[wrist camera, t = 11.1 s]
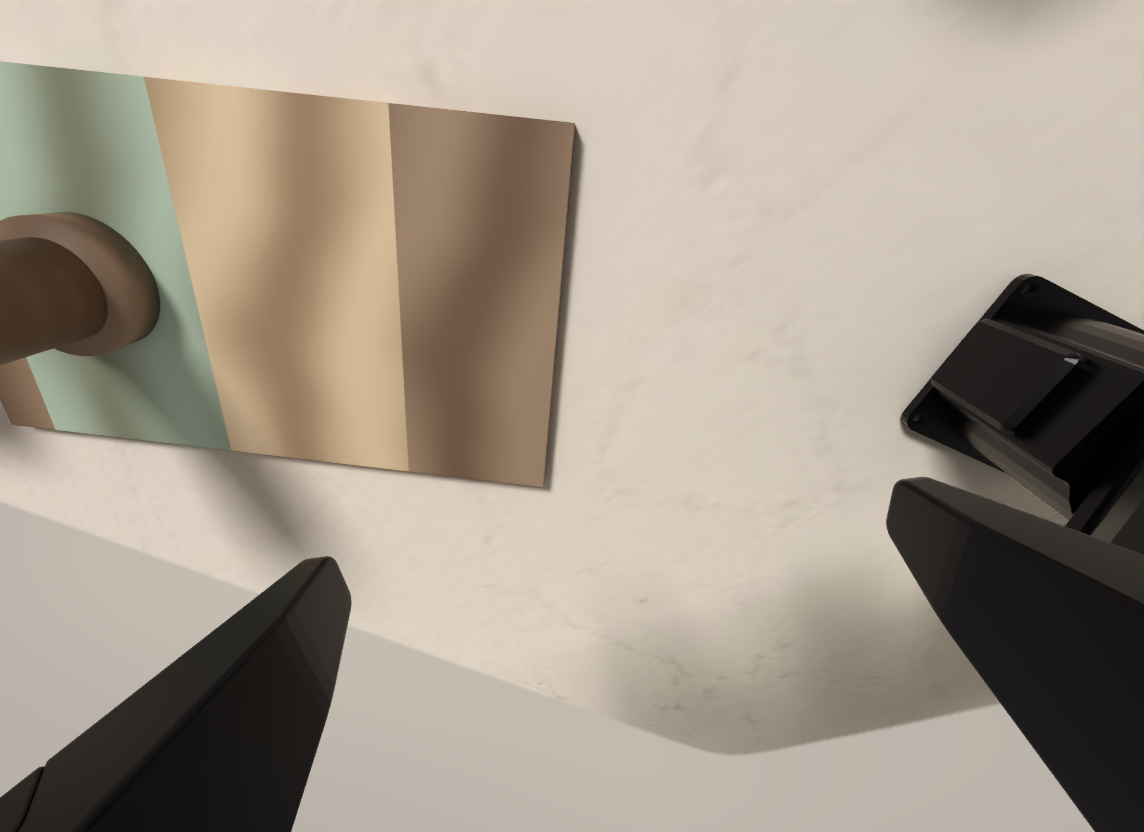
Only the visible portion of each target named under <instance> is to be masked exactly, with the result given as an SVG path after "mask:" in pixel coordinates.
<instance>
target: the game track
mask: <svg viewBox="0 0 1144 832" xmlns="http://www.w3.org/2000/svg"><path fill="white" fill-rule="evenodd" d="M574 134H575V123H569V122H559V121H550V120H541V119H531V118H522V117H513V116H503V115H494V114H485V113H476V112H466V111H457V110H448V109H438V108H429V107H420V106H410V105H401V104H392V103H382V102H373V101H364V100H354V99H345V98H336V97H326V96H317V95H308V94H299V93H289V92H280V91H271V90H261V89H252V88H243V87H233V86H224V85H215V84H205V83H196V82H187V81H177V80H168V79H159V78H149V77H140V76H131V75H122V74H112V73H103V72H94V71H84V70H75V69H66V68H56V67H47V66H38V65H28V64H19V63H10V62H0V220H3V219H5V218H7V217H12V216H18V215H31V214H45V213H58V212H72V213H78V214H83V215H86V216H89V217H92V218H94V219H97V220H99V221H101V222H103V223H105V224H106V225H108V226H109V227H111V228H113V229H114V230H115V231H117V232H118V233H119V234H121V235H122V236H123V237H124V238H125V239H126V240H128V241H129V242H130V243H131V244H132V246H133V247H134V248H135V249H136V250H137V251H138V252H139V254H140V255H141V256H142V257H143V259H144V260H145V262H146V264H147V265H148V267H149V269H150V270H151V272H152V274H153V276H154V279H155V281H156V284H157V288H158V291H159V297H160V314H159V318H158V322H157V324H156V326H155V328H154V329H153V330H152V332H151V333H150V334H149V335H148V336H146V337H145V338H143V339H142V340H140V341H137V342H134V343H132V344H129V345H126V346H123V347H121V348H118V349H115V350H112V351H109V352H107V353H104V354H101V355H96V356H76V355H71V354H67V353H64V352H61V351H58V350H56V349H50V350H47V351H44V352H41V353H38V354H35V355H32V356H29V357H25V358H22V359H19V360H16V361H13V362H10V363H7V364H4V365H0V399H1V401H2V404H3V406H4V408H5V410H6V413H7V415H8V417H9V419H10V422H11V424H12V425H19V426H27V427H36V428H44V429H53V430H61V431H70V432H78V433H87V434H95V435H104V436H112V437H121V438H129V439H138V440H146V441H155V442H163V443H172V444H180V445H189V446H197V447H206V448H214V449H223V450H231V451H240V452H248V453H257V454H265V455H274V456H282V457H291V458H299V459H308V460H316V461H325V462H333V463H342V464H350V465H359V466H367V467H376V468H384V469H393V470H401V471H410V472H418V473H427V474H435V475H444V476H452V477H461V478H469V479H478V480H486V481H495V482H503V483H512V484H520V485H529V486H537V487H543V484H544V479H545V468H546V456H547V445H548V433H549V422H550V410H551V399H552V387H553V376H554V364H555V353H556V341H557V330H558V318H559V307H560V295H561V284H562V272H563V261H564V249H565V238H566V226H567V215H568V203H569V192H570V180H571V169H572V157H573V146H574Z"/></svg>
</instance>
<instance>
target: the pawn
mask: <svg viewBox="0 0 1144 832" xmlns="http://www.w3.org/2000/svg"><path fill="white" fill-rule="evenodd" d="M159 314H160V297H159V291H158V288H157V284H156V281H155V279H154V276H153V274H152V272H151V270H150V269H149V267H148V265H147V264H146V262H145V260H144V259H143V257H142V256H141V255H140V254H139V252H138V251H137V250H136V249H135V248H134V247H133V246H132V244H131V243H130V242H129V241H128V240H126V239H125V238H124V237H123V236H122V235H121V234H119V233H118V232H117V231H115V230H114V229H113V228H111V227H109V226H108V225H106V224H105V223H103V222H101V221H99V220H97V219H94V218H92V217H89V216H86V215H83V214H78V213H72V212H58V213H45V214H31V215H18V216H12V217H7V218H5V219H3V220H0V365H4V364H7V363H10V362H13V361H16V360H19V359H22V358H25V357H29V356H32V355H35V354H38V353H41V352H44V351H47V350H50V349H56V350H58V351H61V352H64V353H67V354H71V355H76V356H96V355H101V354H104V353H107V352H109V351H112V350H115V349H118V348H121V347H123V346H126V345H129V344H132V343H134V342H137V341H140V340H142V339H143V338H145V337H146V336H148V335H149V334H150V333H151V332H152V330H153V329H154V328H155V326H156V324H157V322H158V318H159Z"/></svg>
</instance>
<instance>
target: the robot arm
mask: <svg viewBox="0 0 1144 832" xmlns="http://www.w3.org/2000/svg"><path fill="white" fill-rule="evenodd" d="M1029 284H1030V289H1029V291H1028V292H1027V293H1025V294H1024V295H1023V290H1024V288H1025V287H1026V286H1027V285H1029ZM919 414H922V415H921V417H920V418H919V419H918V420H915V421H913V420H914V418H915V417H916V416H917V415H919ZM901 419H902V422H903V423H904V424H905V425H906V426H907V427H909V428H910V429H911V430H913V431H915V432H917V433H920V434H922V435H924V436H926V437H928V438H931V439H933V440H935V441H937V442H939V443H941V444H944V445H946V446H948V447H950V448H952V449H955V450H957V451H959V452H961V453H963V454H965V455H968V456H970V457H972V458H974V459H976V460H978V461H981V462H983V463H985V464H987V465H989V466H992V467H994V468H996V469H998V470H1000V471H1002V472H1005V473H1007V474H1009V475H1010V476H1011V477H1013V478H1014V479H1015V480H1017V481H1018V482H1019V483H1021V484H1022V485H1023V486H1025V487H1026V488H1027V489H1029V490H1030V491H1031V492H1033V493H1034V494H1035V495H1037V496H1038V497H1039V498H1041V499H1042V500H1043V501H1045V502H1046V503H1047V504H1048V505H1050V506H1051V507H1052V508H1054V509H1055V510H1056V511H1058V512H1059V513H1060V514H1062V515H1063V516H1064V517H1066V518H1067V519H1068V520H1069V521H1068V523H1067V524H1066V525H1065V527H1064V526H1062V525H1059V524H1056V523H1053V522H1051V521H1048V520H1045V519H1042V518H1039V517H1037V516H1034V515H1031V514H1028V513H1026V512H1023V511H1020V510H1017V509H1014V508H1012V507H1009V506H1006V505H1003V504H1000V503H998V502H995V501H992V500H989V499H987V498H984V497H981V496H978V495H975V494H973V493H970V492H967V491H964V490H961V489H959V488H956V487H953V486H950V485H948V484H945V483H942V482H939V481H936V480H934V479H931V478H928V477H916V478H909V479H902V480H899V481H897V482H896V484H895V485H894V487H893V491H892V496H891V500H890V505H889V510H888V514H887V519H886V526H887V530H888V533H889V536H890V538H891V539H892V541H893V543H894V544H895V546H896V548H897V549H898V551H899V553H900V554H901V556H902V558H903V559H904V561H905V563H906V564H907V566H908V568H909V570H910V571H911V573H912V575H913V576H914V578H915V580H916V581H917V583H918V585H919V586H920V588H921V590H922V591H923V593H924V595H925V596H926V598H927V600H928V601H929V603H930V605H931V606H932V608H933V610H934V611H935V613H936V614H937V616H938V617H939V619H940V621H941V622H942V624H943V625H944V626H945V628H946V629H947V631H948V632H949V634H950V635H951V636H952V638H953V639H954V641H955V642H956V643H957V645H958V646H959V647H960V649H961V650H962V651H963V653H964V654H965V656H966V657H967V658H968V660H969V661H970V662H971V664H972V665H973V666H974V668H975V669H976V670H977V672H978V673H979V675H980V676H981V677H982V679H983V680H984V681H985V683H986V684H987V685H988V687H989V688H990V690H991V691H992V692H993V694H994V695H995V696H996V698H997V699H998V700H999V702H1000V703H1001V705H1002V706H1003V707H1004V709H1005V710H1006V711H1007V713H1008V714H1009V715H1010V717H1011V718H1012V719H1013V721H1014V722H1015V723H1016V725H1017V726H1018V728H1019V729H1020V730H1021V732H1022V733H1023V734H1024V736H1025V737H1026V739H1027V740H1028V741H1029V743H1030V744H1031V745H1032V747H1033V748H1034V749H1035V751H1036V752H1037V754H1038V755H1039V756H1040V758H1041V759H1042V760H1043V762H1044V763H1045V764H1046V766H1047V767H1048V768H1049V770H1050V771H1051V772H1052V774H1053V775H1054V777H1055V778H1056V779H1057V781H1058V782H1059V783H1060V785H1061V786H1062V788H1063V789H1064V790H1065V791H1066V793H1067V794H1068V796H1069V797H1070V798H1071V800H1072V801H1073V803H1074V804H1075V805H1076V806H1077V808H1078V809H1079V811H1080V812H1081V813H1082V815H1083V816H1084V818H1085V819H1086V820H1087V822H1088V823H1089V824H1090V826H1091V827H1092V828H1093V830H1094V831H1095V832H1144V330H1142V329H1140V328H1138V327H1136V326H1134V325H1132V324H1130V323H1129V322H1127V321H1125V320H1123V319H1121V318H1119V317H1117V316H1115V315H1113V314H1111V313H1109V312H1108V311H1106V310H1104V309H1102V308H1100V307H1098V306H1096V305H1094V304H1092V303H1090V302H1088V301H1087V300H1085V299H1083V298H1081V297H1079V296H1077V295H1075V294H1073V293H1071V292H1069V291H1067V290H1066V289H1064V288H1062V287H1060V286H1058V285H1056V284H1054V283H1052V282H1050V281H1048V280H1046V279H1045V278H1043V277H1039V276H1035V275H1031V274H1024V275H1020V276H1018V277H1016V278H1015V279H1014V280H1013V281H1012V282H1011V283H1010V284H1009V285H1008V286H1007V287H1006V289H1005V290H1004V291H1003V292H1002V293H1001V295H1000V296H999V297H998V298H997V299H996V301H995V302H994V303H993V304H992V305H991V307H990V308H989V309H988V310H987V311H986V313H985V314H984V315H983V316H982V318H981V319H980V320H979V321H978V322H977V323H976V324H975V325H974V327H973V328H972V329H971V330H970V332H969V333H968V334H967V335H966V336H965V338H964V339H963V340H962V341H961V342H960V344H959V345H958V346H957V347H956V348H955V350H954V351H953V352H952V353H951V354H950V356H949V357H948V358H947V359H946V360H945V362H944V363H943V364H942V365H941V366H940V368H939V369H938V370H937V371H936V372H935V374H934V375H933V376H932V378H931V379H930V380H929V381H928V383H927V384H926V385H925V386H924V387H923V389H922V390H921V391H920V392H919V393H918V395H917V396H916V397H915V398H914V399H913V401H912V402H911V403H910V404H909V405H908V407H907V408H906V409H905V410H904V412H903V414H902V418H901ZM350 611H351V595H350V591H349V589H348V587H347V584H346V582H345V580H344V578H343V575H342V573H341V571H340V568H339V566H338V564H337V562H336V560H335V559H334V558H332V557H329V556H326V557H318V558H310V559H306V560H304V561H302V562H301V563H299V564H298V565H297V566H296V567H294V568H293V569H292V570H290V571H289V572H288V573H287V574H285V575H284V576H283V577H281V578H280V579H279V580H278V581H276V582H275V583H274V584H273V585H271V586H270V587H269V588H267V589H266V590H265V591H264V592H262V593H261V594H260V595H258V596H257V597H256V598H255V599H254V600H252V601H251V602H250V603H248V604H247V605H246V606H244V607H243V608H242V609H241V610H239V611H238V612H237V613H236V614H234V615H233V616H232V617H230V618H229V619H228V620H227V621H226V622H224V623H223V624H221V625H220V626H219V627H218V628H216V629H215V630H214V631H212V632H211V633H210V634H209V635H207V636H206V637H205V638H204V639H202V640H201V641H200V642H198V643H197V644H196V645H195V646H193V647H192V648H191V649H190V650H188V651H187V652H186V653H184V654H183V655H182V656H181V657H179V658H178V659H177V660H175V661H174V662H173V663H172V664H170V665H169V666H168V667H167V668H165V669H164V670H163V671H161V672H160V673H159V674H158V675H157V676H155V677H154V678H152V679H151V680H150V681H149V682H147V683H146V684H145V685H144V686H142V687H141V688H140V689H138V690H137V691H136V692H135V693H133V694H132V695H131V696H130V697H128V698H127V699H126V700H124V701H123V702H122V703H121V704H119V705H118V706H117V707H115V708H114V709H113V710H112V711H111V712H109V713H108V714H106V715H105V716H104V717H103V718H101V719H100V720H99V721H98V722H96V723H95V724H94V725H93V726H91V727H90V728H89V729H88V730H86V731H85V732H84V733H82V734H81V735H80V736H78V737H77V738H76V739H75V740H73V741H72V742H71V743H69V744H68V745H67V746H66V747H64V748H63V749H62V750H60V751H59V752H58V753H57V754H55V755H54V756H53V757H52V758H50V759H49V760H48V761H47V763H46V765H45V767H39V768H37V769H36V770H35V771H33V772H32V773H31V774H30V775H28V776H27V777H26V778H24V779H23V780H22V781H21V782H20V783H18V784H17V785H16V786H14V787H13V788H12V789H11V790H9V791H8V792H7V793H5V794H4V795H3V796H2V797H0V832H291V831H292V827H293V824H294V821H295V818H296V815H297V811H298V808H299V805H300V802H301V799H302V796H303V792H304V789H305V786H306V783H307V780H308V776H309V773H310V770H311V767H312V764H313V760H314V757H315V754H316V751H317V748H318V744H319V741H320V738H321V735H322V732H323V729H324V726H325V722H326V719H327V716H328V712H329V708H330V705H331V701H332V697H333V692H334V689H335V684H336V679H337V674H338V669H339V664H340V660H341V655H342V650H343V645H344V640H345V634H346V630H347V625H348V621H349V616H350Z"/></svg>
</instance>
